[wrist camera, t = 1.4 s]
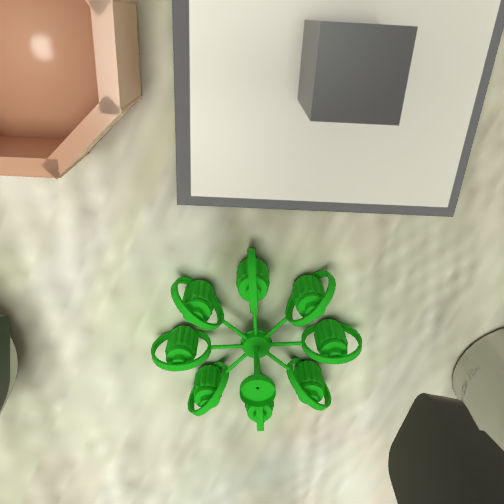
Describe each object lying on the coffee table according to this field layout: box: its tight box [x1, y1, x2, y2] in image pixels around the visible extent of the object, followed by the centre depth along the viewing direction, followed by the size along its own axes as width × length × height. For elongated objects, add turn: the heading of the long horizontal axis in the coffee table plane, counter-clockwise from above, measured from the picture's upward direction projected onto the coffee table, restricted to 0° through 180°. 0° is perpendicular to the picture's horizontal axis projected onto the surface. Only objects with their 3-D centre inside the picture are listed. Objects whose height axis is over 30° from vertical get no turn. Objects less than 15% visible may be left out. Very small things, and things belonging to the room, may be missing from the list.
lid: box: [189, 0, 501, 207], centre depth 23 cm, size 16×16×7 cm
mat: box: [172, 0, 504, 217], centre depth 26 cm, size 18×18×1 cm
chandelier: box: [151, 248, 362, 431], centre depth 32 cm, size 15×15×7 cm
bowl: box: [0, 0, 142, 179], centre depth 24 cm, size 12×12×5 cm
